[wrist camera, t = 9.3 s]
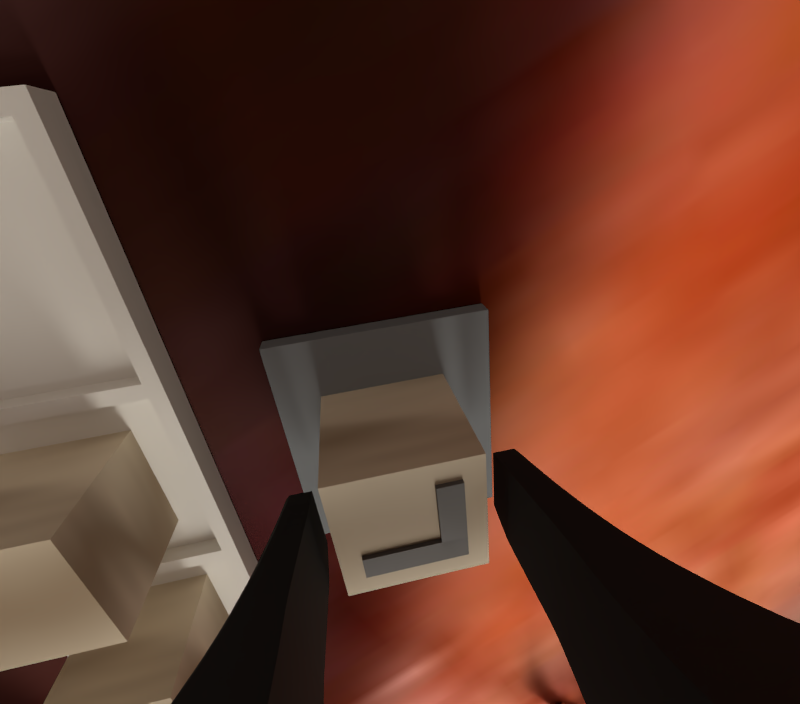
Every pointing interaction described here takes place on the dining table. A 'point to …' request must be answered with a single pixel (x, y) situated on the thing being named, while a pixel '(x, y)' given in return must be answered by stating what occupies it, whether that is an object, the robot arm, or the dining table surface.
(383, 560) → the letter cube
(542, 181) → the dining table surface
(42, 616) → the plain cube middle
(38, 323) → the sorting tray
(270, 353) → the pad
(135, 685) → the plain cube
